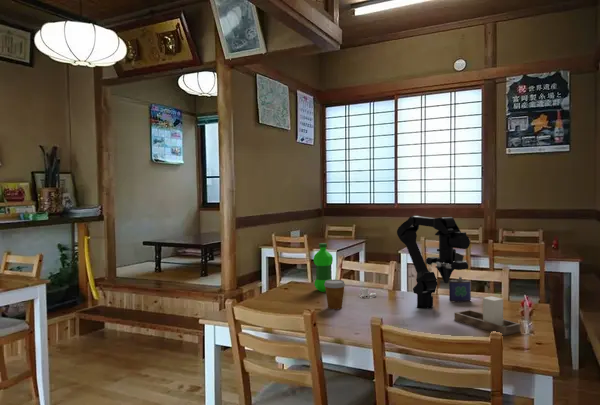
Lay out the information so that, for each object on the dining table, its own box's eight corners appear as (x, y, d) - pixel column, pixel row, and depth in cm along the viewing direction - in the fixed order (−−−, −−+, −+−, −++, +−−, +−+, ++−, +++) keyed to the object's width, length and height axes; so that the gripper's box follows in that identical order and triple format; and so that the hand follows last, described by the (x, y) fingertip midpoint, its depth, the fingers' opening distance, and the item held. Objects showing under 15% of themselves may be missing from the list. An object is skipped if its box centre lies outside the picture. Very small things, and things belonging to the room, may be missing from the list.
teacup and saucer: (377, 296, 223) (377, 288, 223) (371, 299, 216) (371, 291, 216) (361, 294, 228) (361, 286, 227) (355, 297, 221) (355, 289, 221)
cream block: (483, 323, 170) (482, 297, 170) (491, 321, 172) (491, 296, 172) (494, 327, 166) (494, 300, 165) (503, 325, 168) (503, 299, 168)
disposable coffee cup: (348, 306, 204) (347, 280, 203) (341, 311, 195) (340, 284, 195) (328, 304, 208) (328, 278, 207) (321, 309, 199) (320, 282, 199)
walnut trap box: (454, 320, 180) (454, 312, 180) (470, 316, 184) (469, 309, 184) (504, 336, 160) (504, 327, 159) (520, 331, 164) (520, 323, 164)
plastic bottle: (337, 290, 236) (336, 243, 236) (324, 293, 229) (324, 245, 228) (322, 287, 243) (321, 242, 242) (310, 291, 235) (309, 244, 234)
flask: (469, 300, 211) (469, 276, 211) (472, 302, 208) (471, 277, 207) (448, 300, 211) (448, 276, 211) (450, 302, 208) (450, 277, 208)
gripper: (477, 247, 184) (477, 284, 185) (443, 243, 201) (443, 277, 201) (458, 249, 179) (458, 288, 179) (424, 245, 195) (425, 280, 196)
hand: (446, 283), depth 189 cm, fingers closed
